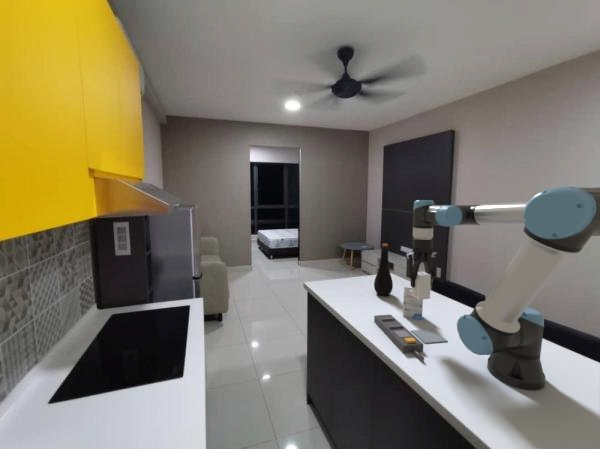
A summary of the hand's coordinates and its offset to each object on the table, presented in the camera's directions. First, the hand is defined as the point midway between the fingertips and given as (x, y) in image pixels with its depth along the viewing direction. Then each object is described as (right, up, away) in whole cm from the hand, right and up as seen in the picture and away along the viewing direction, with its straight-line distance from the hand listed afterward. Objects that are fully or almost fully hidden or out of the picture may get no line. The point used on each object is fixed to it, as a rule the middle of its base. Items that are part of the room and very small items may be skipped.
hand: (420, 294), depth 115 cm
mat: (+4, -18, +1) cm, 18 cm away
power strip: (-9, -18, -1) cm, 20 cm away
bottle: (-1, -13, +50) cm, 52 cm away
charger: (0, -1, 0) cm, 1 cm away
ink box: (+5, -16, +21) cm, 27 cm away
